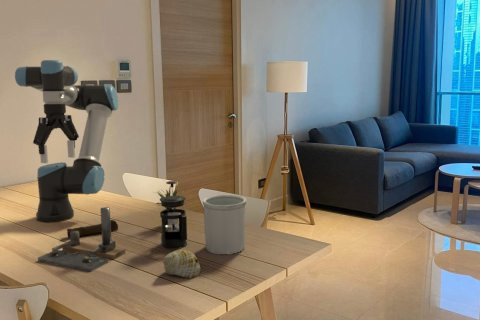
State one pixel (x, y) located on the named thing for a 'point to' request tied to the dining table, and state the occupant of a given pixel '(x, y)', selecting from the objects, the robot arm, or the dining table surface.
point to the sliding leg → (104, 234)
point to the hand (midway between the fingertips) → (58, 160)
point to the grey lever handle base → (87, 247)
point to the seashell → (182, 264)
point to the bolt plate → (73, 260)
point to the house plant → (170, 221)
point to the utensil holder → (224, 223)
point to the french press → (173, 233)
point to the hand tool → (92, 229)
